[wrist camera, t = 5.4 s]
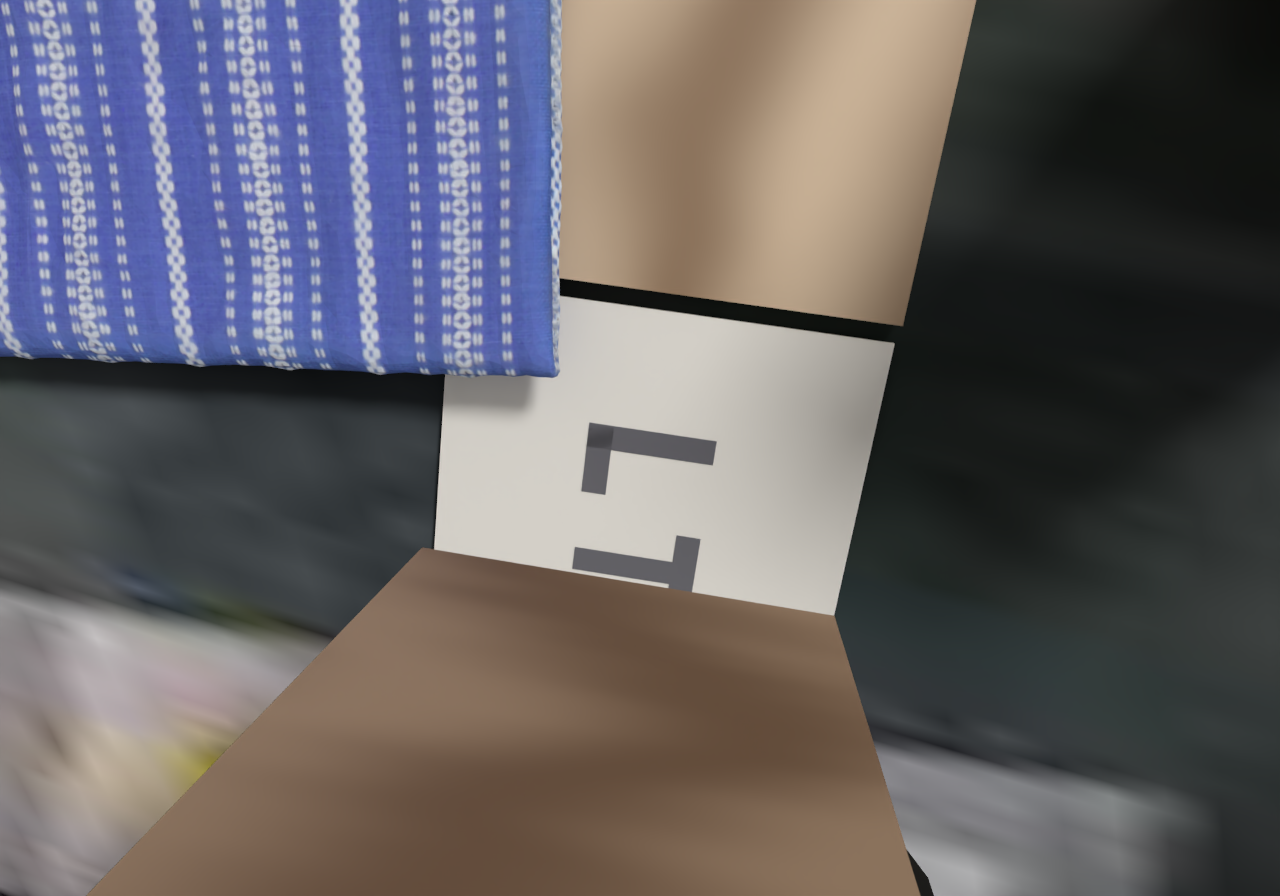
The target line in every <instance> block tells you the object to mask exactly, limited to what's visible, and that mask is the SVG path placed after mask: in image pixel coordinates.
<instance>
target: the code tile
mask: <svg viewBox="0 0 1280 896" xmlns="http://www.w3.org/2000/svg"><path fill="white" fill-rule="evenodd" d="M894 345H895V343H892V342H885V341H878V340H871V339H864V338H857V337H850V336H843V335H836V334H829V333H822V332H815V331H808V330H800V329H793V328H786V327H779V326H772V325H765V324H758V323H751V322H744V321H737V320H730V319H723V318H716V317H709V316H701V315H694V314H687V313H680V312H673V311H666V310H659V309H652V308H645V307H638V306H631V305H624V304H617V303H609V302H602V301H595V300H588V299H581V298H574V297H567V296H560V328H559V340H558V357H559V366H560V372H559V374H558V376H557V377H554V378H548V377H534V376H529V375H524V376H517V377H511V376H503V375H489V376H478V377H474V378H467V377H462V376H454V375H447V374H445V384H444V400H443V416H442V432H441V448H440V464H439V480H438V496H437V512H436V528H435V544H434V550H440V551H446V552H452V553H458V554H465V555H471V556H477V557H483V558H489V559H495V560H501V561H507V562H513V563H519V564H525V565H531V566H537V567H543V568H549V569H555V570H561V571H567V572H573V573H579V574H585V575H591V576H598V577H604V578H610V579H616V580H622V581H628V582H634V583H640V584H646V585H652V586H658V587H664V588H670V589H676V590H682V591H688V592H694V593H700V594H706V595H712V596H718V597H725V598H731V599H737V600H743V601H749V602H755V603H761V604H767V605H773V606H779V607H785V608H791V609H797V610H803V611H809V612H815V613H821V614H827V615H833V616H834V613H835V609H836V604H837V600H838V595H839V591H840V586H841V582H842V577H843V573H844V568H845V564H846V559H847V555H848V551H849V546H850V542H851V537H852V533H853V528H854V524H855V519H856V515H857V510H858V506H859V501H860V497H861V492H862V488H863V483H864V479H865V474H866V470H867V465H868V461H869V457H870V452H871V448H872V443H873V439H874V434H875V430H876V425H877V421H878V416H879V412H880V407H881V403H882V398H883V394H884V389H885V385H886V380H887V376H888V371H889V367H890V362H891V358H892V354H893V349H894Z"/></svg>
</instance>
